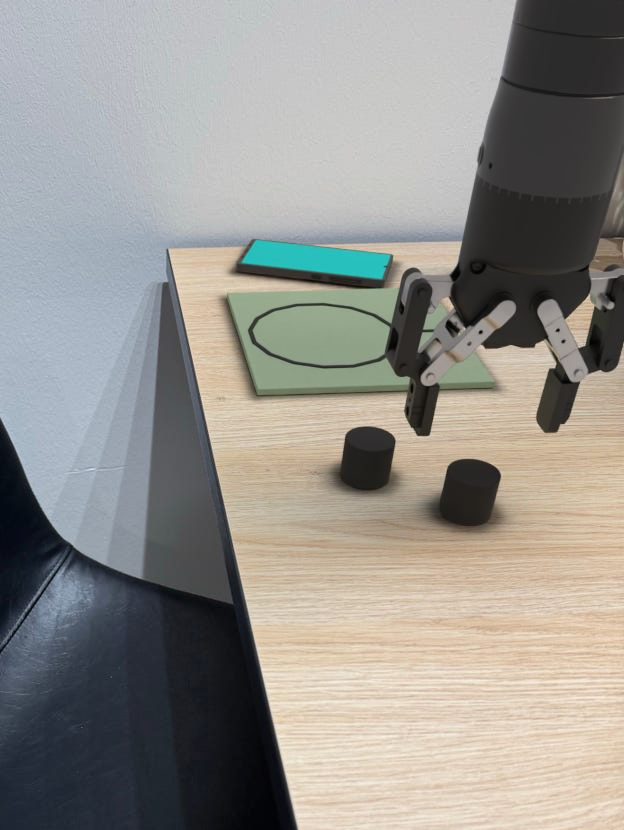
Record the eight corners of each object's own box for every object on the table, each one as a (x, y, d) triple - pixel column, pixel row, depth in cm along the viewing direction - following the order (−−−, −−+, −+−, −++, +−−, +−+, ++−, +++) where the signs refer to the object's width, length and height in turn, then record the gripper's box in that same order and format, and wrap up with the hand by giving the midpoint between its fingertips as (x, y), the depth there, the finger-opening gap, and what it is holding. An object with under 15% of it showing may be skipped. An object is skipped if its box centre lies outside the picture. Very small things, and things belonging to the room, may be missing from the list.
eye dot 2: (481, 496, 74) (491, 457, 72) (498, 524, 72) (508, 485, 70) (432, 498, 74) (440, 459, 72) (446, 526, 72) (455, 487, 69)
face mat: (428, 292, 102) (429, 285, 102) (493, 387, 87) (495, 380, 87) (226, 298, 101) (227, 291, 101) (257, 395, 86) (257, 388, 86)
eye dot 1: (382, 462, 78) (389, 424, 76) (394, 488, 75) (401, 450, 73) (335, 464, 78) (340, 426, 76) (345, 490, 75) (351, 452, 73)
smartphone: (252, 238, 111) (393, 254, 107) (251, 246, 111) (392, 262, 108) (235, 263, 105) (384, 280, 102) (235, 271, 106) (382, 289, 102)
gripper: (440, 193, 55) (391, 461, 65) (701, 190, 56) (611, 455, 66) (404, 152, 61) (363, 405, 71) (640, 149, 61) (566, 399, 72)
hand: (483, 429), depth 69 cm, fingers open, 8 cm apart
